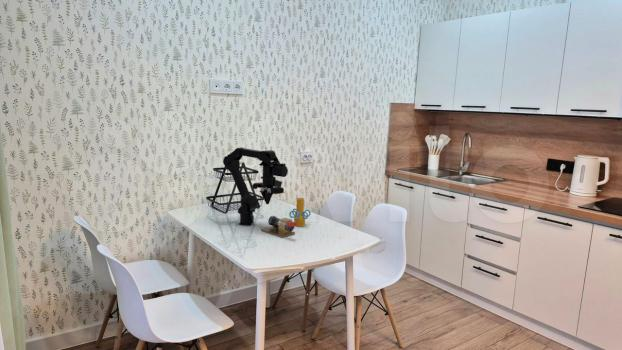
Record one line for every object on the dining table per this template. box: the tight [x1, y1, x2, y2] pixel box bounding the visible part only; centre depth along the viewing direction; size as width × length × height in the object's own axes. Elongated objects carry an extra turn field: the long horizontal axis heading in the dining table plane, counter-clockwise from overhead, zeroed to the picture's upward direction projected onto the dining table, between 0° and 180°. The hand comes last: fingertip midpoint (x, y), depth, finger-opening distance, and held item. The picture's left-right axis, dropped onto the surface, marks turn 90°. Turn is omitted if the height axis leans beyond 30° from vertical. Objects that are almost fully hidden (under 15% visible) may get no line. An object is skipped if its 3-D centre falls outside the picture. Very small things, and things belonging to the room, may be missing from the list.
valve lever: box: [277, 221, 297, 228], centre depth 214 cm, size 2×2×12 cm
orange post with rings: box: [288, 197, 311, 228], centre depth 235 cm, size 12×10×15 cm
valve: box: [260, 215, 296, 239], centre depth 221 cm, size 16×9×7 cm, turn 48°
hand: (267, 204), depth 227 cm, fingers closed
